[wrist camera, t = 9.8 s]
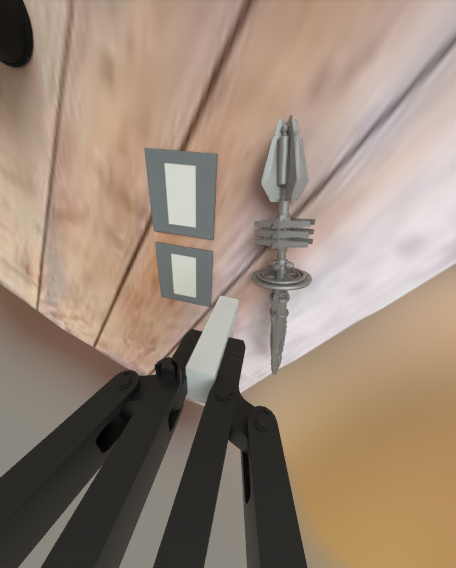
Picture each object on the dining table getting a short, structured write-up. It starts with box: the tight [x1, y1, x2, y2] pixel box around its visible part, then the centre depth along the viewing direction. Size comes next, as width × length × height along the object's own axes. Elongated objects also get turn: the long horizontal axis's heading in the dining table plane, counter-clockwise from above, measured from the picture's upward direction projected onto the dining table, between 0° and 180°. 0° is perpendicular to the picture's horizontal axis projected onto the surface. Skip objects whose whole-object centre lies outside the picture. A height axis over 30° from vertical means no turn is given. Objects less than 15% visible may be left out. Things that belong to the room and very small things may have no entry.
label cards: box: [144, 148, 217, 307], centre depth 31 cm, size 24×10×1 cm, turn 175°
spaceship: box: [251, 115, 315, 375], centre depth 26 cm, size 8×35×8 cm
